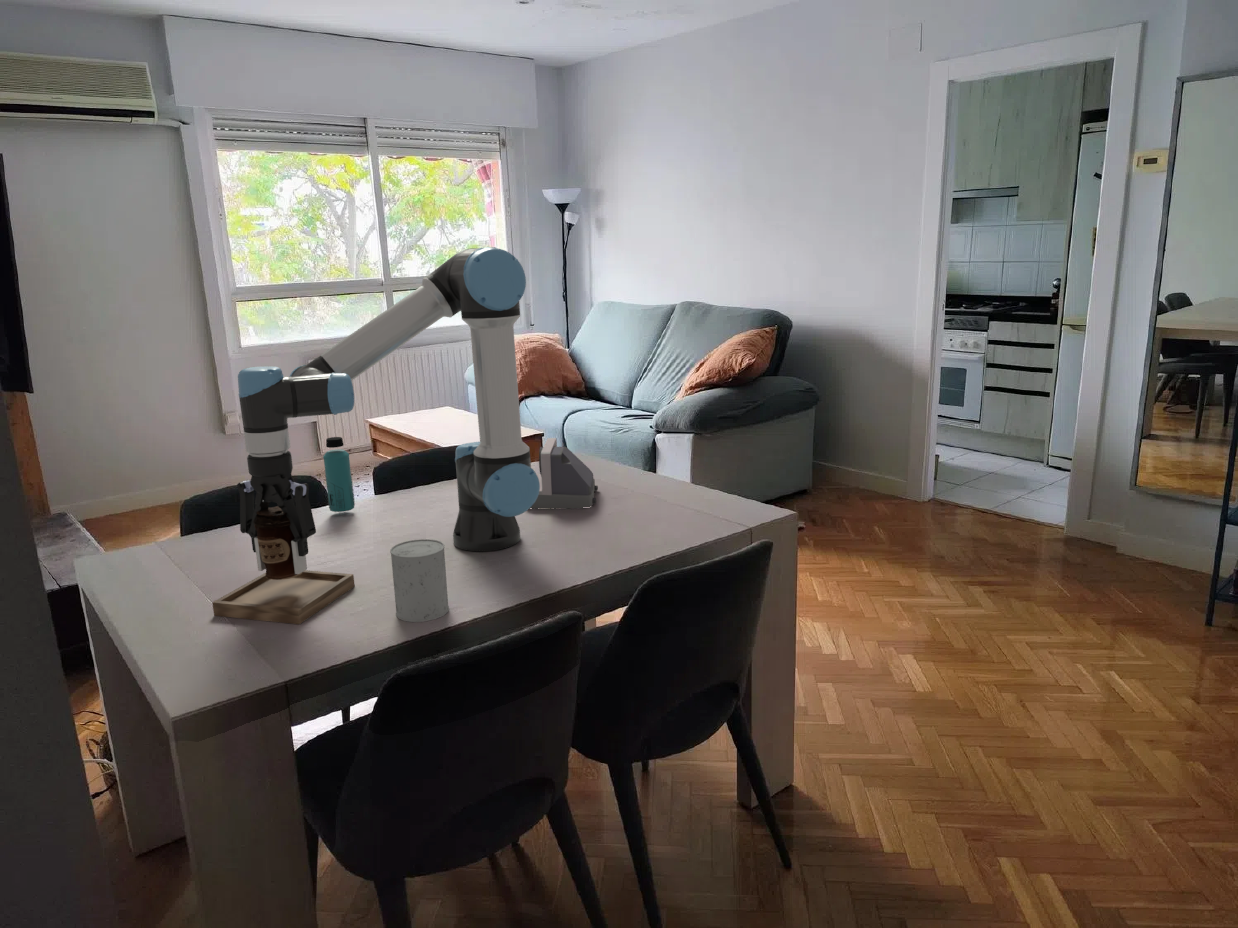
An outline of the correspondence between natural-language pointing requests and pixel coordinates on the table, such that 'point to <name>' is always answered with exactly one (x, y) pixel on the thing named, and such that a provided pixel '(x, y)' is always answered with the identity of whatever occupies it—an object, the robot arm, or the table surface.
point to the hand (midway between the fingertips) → (282, 569)
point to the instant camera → (563, 479)
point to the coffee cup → (275, 543)
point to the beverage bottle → (338, 477)
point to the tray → (284, 597)
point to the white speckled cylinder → (419, 580)
